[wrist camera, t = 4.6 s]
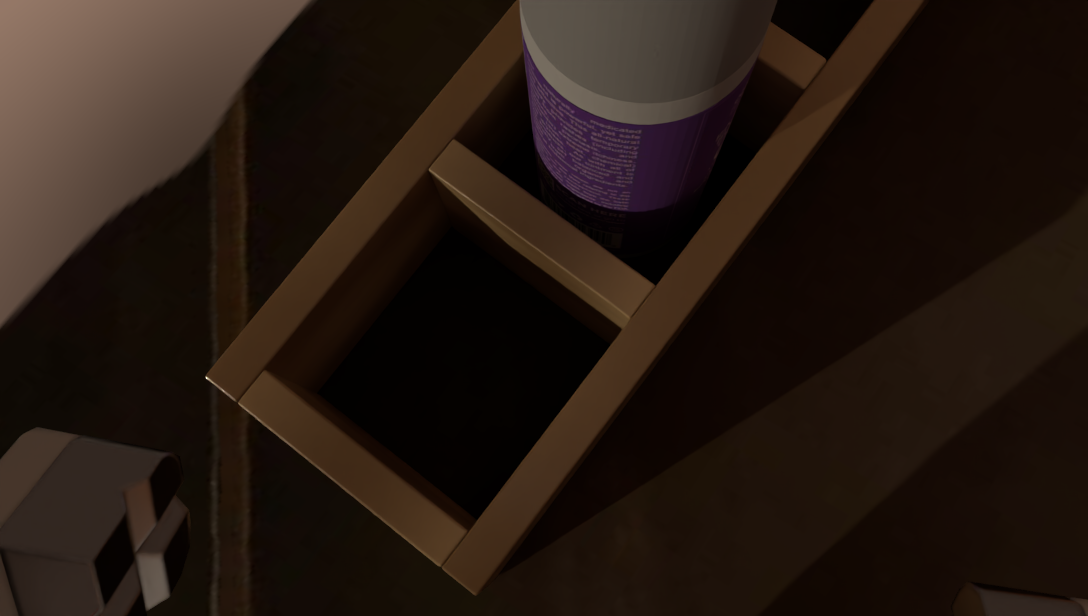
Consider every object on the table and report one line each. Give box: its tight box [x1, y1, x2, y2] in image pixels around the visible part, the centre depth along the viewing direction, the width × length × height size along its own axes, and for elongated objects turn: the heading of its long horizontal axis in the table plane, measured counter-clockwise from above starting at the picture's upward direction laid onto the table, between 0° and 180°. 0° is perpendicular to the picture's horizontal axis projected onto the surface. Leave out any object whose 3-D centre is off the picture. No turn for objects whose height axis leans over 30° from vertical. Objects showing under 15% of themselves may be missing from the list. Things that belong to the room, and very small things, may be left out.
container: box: [520, 0, 777, 259], centre depth 22 cm, size 5×5×15 cm
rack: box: [205, 0, 930, 595], centre depth 27 cm, size 8×22×5 cm, turn 143°
